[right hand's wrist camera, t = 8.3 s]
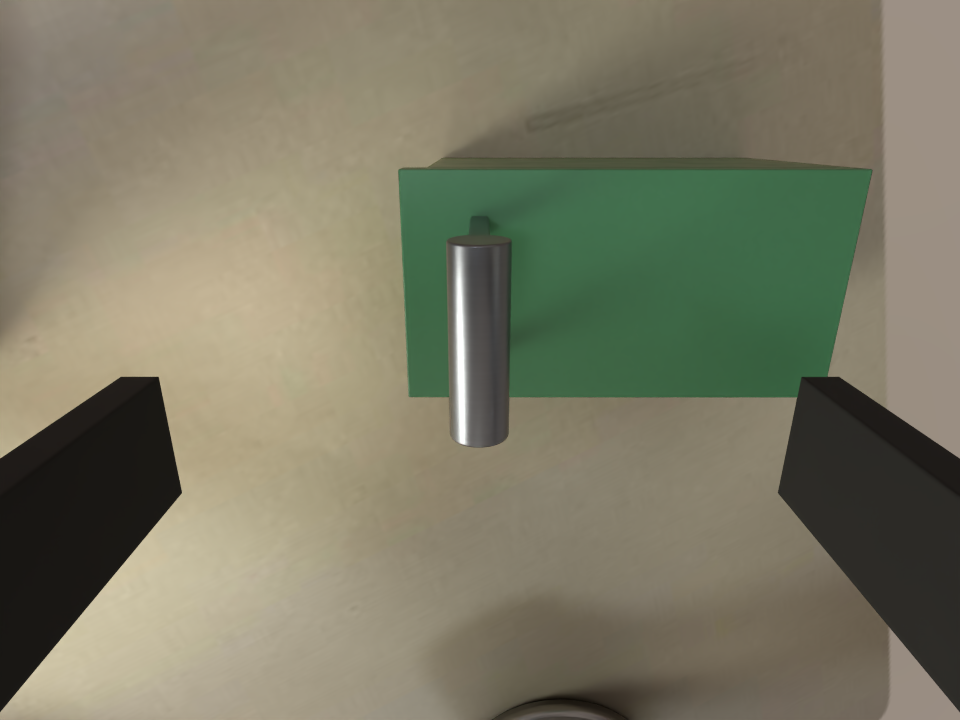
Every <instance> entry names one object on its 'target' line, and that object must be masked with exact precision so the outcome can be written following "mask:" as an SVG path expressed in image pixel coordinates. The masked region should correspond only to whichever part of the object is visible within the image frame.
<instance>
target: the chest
mask: <svg viewBox="0 0 960 720" xmlns="http://www.w3.org/2000/svg"><path fill="white" fill-rule="evenodd" d="M427 168H850V167H840V166H829V165H818V164H807V163H796V162H785V161H774V160H763V159H752V158H441V159H440V160H439V161H437V162H435V163H434V164H432V165H431V166H429V167H427Z"/></svg>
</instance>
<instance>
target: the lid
mask: <svg viewBox="0 0 960 720" xmlns="http://www.w3.org/2000/svg"><path fill="white" fill-rule="evenodd" d="M398 173H399V195H400V217H401V239H402V261H403V283H404V305H405V327H406V349H407V371H408V393H409V397H449V412H450V436H451V437H452V439H453V440H454V441H455V442H457V443H459V444H461V445H464V446H469V447H490V446H494V445H497V444H500V443H501V442H503V441H504V440H505V439H506V438H507V437H508V434H509V397H798V392H799V387H800V382H801V377H827V376H828V371H829V366H830V362H831V357H832V353H833V348H834V344H835V339H836V334H837V330H838V325H839V321H840V316H841V312H842V307H843V303H844V298H845V293H846V289H847V284H848V280H849V275H850V271H851V266H852V261H853V257H854V252H855V248H856V243H857V239H858V234H859V229H860V225H861V220H862V216H863V211H864V207H865V202H866V198H867V193H868V188H869V184H870V179H871V175H872V169H863V168H401V169H399V170H398Z"/></svg>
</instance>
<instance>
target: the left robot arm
mask: <svg viewBox="0 0 960 720" xmlns="http://www.w3.org/2000/svg"><path fill="white" fill-rule="evenodd" d="M493 720H626V719H625V718H624V717H622V716H621V715H619V714H617V713H616V712H614V711H612V710H609V709H607V708H605V707H602V706H599V705H596V704H592V703H589V702H583V701H577V700H562V699H559V700H545V701H538V702H533V703H529V704H525V705H522V706H519V707H516V708H513V709H511V710H509V711H506V712H504V713H503V714H501V715H499V716H497V717H496V718H494V719H493Z"/></svg>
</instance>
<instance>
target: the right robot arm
mask: <svg viewBox="0 0 960 720" xmlns="http://www.w3.org/2000/svg"><path fill="white" fill-rule="evenodd" d="M181 493H182V490H181V485H180V480H179V476H178V471H177V466H176V461H175V456H174V451H173V446H172V441H171V436H170V431H169V426H168V421H167V416H166V411H165V407H164V402H163V397H162V392H161V387H160V382H159V377H120V378H119V379H117V380H116V381H114V382H113V383H111V384H110V385H108V386H107V387H105V388H104V389H102V390H101V391H99V392H98V393H96V394H95V395H94V396H92V397H91V398H89V399H88V400H86V401H85V402H83V403H82V404H80V405H79V406H77V407H76V408H74V409H73V410H71V411H70V412H68V413H67V414H65V415H64V416H63V417H61V418H60V419H58V420H57V421H55V422H54V423H52V424H51V425H49V426H48V427H46V428H45V429H43V430H42V431H40V432H39V433H37V434H36V435H34V436H33V437H32V438H30V439H29V440H27V441H26V442H24V443H23V444H21V445H20V446H18V447H17V448H15V449H14V450H12V451H11V452H9V453H8V454H6V455H5V456H3V457H2V458H1V459H0V712H1V710H2V709H3V708H4V707H5V706H6V704H7V703H8V702H9V701H10V700H11V698H12V697H13V696H14V695H15V694H16V692H17V691H18V690H19V689H20V688H21V686H22V685H23V684H24V683H25V681H26V680H27V679H28V678H29V677H30V675H31V674H32V673H33V672H34V671H35V669H36V668H37V667H38V666H39V665H40V663H41V662H42V661H43V660H44V659H45V657H46V656H47V655H48V654H49V653H50V651H51V650H52V649H53V648H54V647H55V645H56V644H57V643H58V642H59V641H60V639H61V638H62V637H63V636H64V634H65V633H66V632H67V631H68V630H69V628H70V627H71V626H72V625H73V624H74V622H75V621H76V620H77V619H78V618H79V616H80V615H81V614H82V613H83V612H84V610H85V609H86V608H87V607H88V606H89V604H90V603H91V602H92V601H93V600H94V598H95V597H96V596H97V595H98V594H99V592H100V591H101V590H102V589H103V587H104V586H105V585H106V584H107V583H108V581H109V580H110V579H111V578H112V577H113V575H114V574H115V573H116V572H117V571H118V569H119V568H120V567H121V566H122V565H123V563H124V562H125V561H126V560H127V559H128V557H129V556H130V555H131V554H132V553H133V551H134V550H135V549H136V548H137V547H138V545H139V544H140V543H141V542H142V540H143V539H144V538H145V537H146V536H147V534H148V533H149V532H150V531H151V530H152V528H153V527H154V526H155V525H156V524H157V522H158V521H159V520H160V519H161V518H162V516H163V515H164V514H165V513H166V512H167V510H168V509H169V508H170V507H171V506H172V504H173V503H174V502H175V501H176V500H177V498H178V497H179V496H180V495H181ZM778 493H779V495H780V496H781V497H782V498H783V500H784V501H785V502H786V503H787V504H788V506H789V507H790V508H791V509H792V510H793V512H794V513H795V514H796V515H797V516H798V518H799V519H800V520H801V521H802V522H803V524H804V525H805V526H806V527H807V528H808V530H809V531H810V532H811V533H812V534H813V536H814V537H815V538H816V539H817V540H818V542H819V543H820V544H821V545H822V547H823V548H824V549H825V550H826V551H827V553H828V554H829V555H830V556H831V557H832V559H833V560H834V561H835V562H836V563H837V565H838V566H839V567H840V568H841V569H842V571H843V572H844V573H845V574H846V575H847V577H848V578H849V579H850V580H851V581H852V583H853V584H854V585H855V586H856V587H857V589H858V590H859V591H860V592H861V594H862V595H863V596H864V597H865V598H866V600H867V601H868V602H869V603H870V604H871V606H872V607H873V608H874V609H875V610H876V612H877V613H878V614H879V615H880V616H881V618H882V619H883V620H884V621H885V622H886V624H887V625H888V626H889V627H890V628H891V630H892V631H893V632H894V633H895V634H896V636H897V637H898V638H899V639H900V641H901V642H902V643H903V644H904V645H905V647H906V648H907V649H908V650H909V651H910V652H911V654H912V655H913V656H914V657H915V659H916V660H917V661H918V662H919V663H920V665H921V666H922V667H923V668H924V669H925V671H926V672H927V673H928V674H929V675H930V677H931V678H932V679H933V680H934V681H935V683H936V684H937V685H938V686H939V688H940V689H941V690H942V691H943V692H944V694H945V695H946V696H947V697H948V698H949V700H950V701H951V702H952V703H953V704H954V706H955V707H956V708H957V709H958V710H959V712H960V459H959V458H958V457H956V456H955V455H954V454H952V453H951V452H949V451H948V450H946V449H945V448H943V447H942V446H940V445H939V444H937V443H936V442H934V441H933V440H931V439H930V438H928V437H927V436H926V435H924V434H923V433H921V432H920V431H918V430H917V429H915V428H914V427H912V426H911V425H909V424H908V423H906V422H905V421H903V420H902V419H900V418H899V417H897V416H896V415H895V414H893V413H892V412H890V411H889V410H887V409H886V408H884V407H883V406H881V405H880V404H878V403H877V402H875V401H874V400H872V399H871V398H869V397H868V396H866V395H865V394H864V393H862V392H861V391H859V390H858V389H856V388H855V387H853V386H852V385H850V384H849V383H847V382H846V381H844V380H843V379H841V378H840V377H801V382H800V387H799V392H798V397H797V402H796V407H795V411H794V416H793V421H792V426H791V431H790V436H789V441H788V446H787V451H786V456H785V461H784V466H783V471H782V476H781V480H780V485H779V490H778Z"/></svg>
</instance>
